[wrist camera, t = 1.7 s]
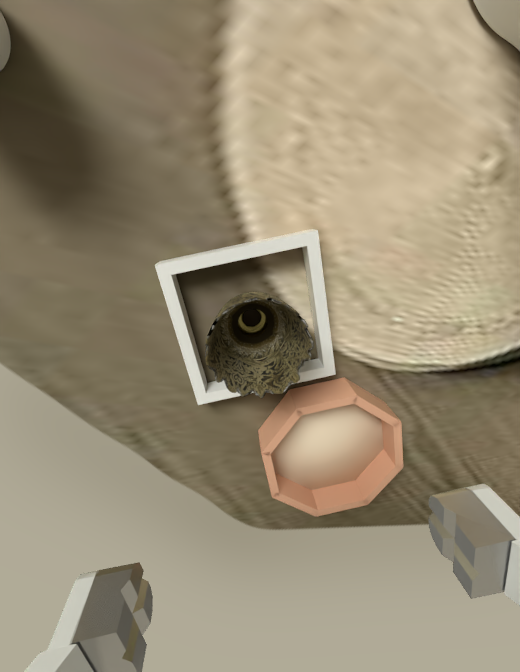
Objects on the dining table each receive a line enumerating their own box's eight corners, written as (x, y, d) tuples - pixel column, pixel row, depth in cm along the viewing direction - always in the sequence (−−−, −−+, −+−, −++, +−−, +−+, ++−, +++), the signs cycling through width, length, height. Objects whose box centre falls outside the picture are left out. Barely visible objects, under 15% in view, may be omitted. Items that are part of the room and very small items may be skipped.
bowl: (382, 368, 33) (399, 385, 30) (389, 471, 38) (404, 496, 35) (250, 398, 33) (253, 418, 30) (274, 498, 38) (279, 525, 35)
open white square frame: (311, 229, 28) (317, 230, 26) (329, 365, 33) (335, 374, 31) (159, 261, 28) (154, 265, 26) (199, 393, 32) (198, 405, 30)
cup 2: (265, 367, 32) (277, 414, 25) (196, 333, 30) (186, 373, 23) (307, 301, 30) (333, 331, 23) (235, 260, 28) (239, 278, 21)
